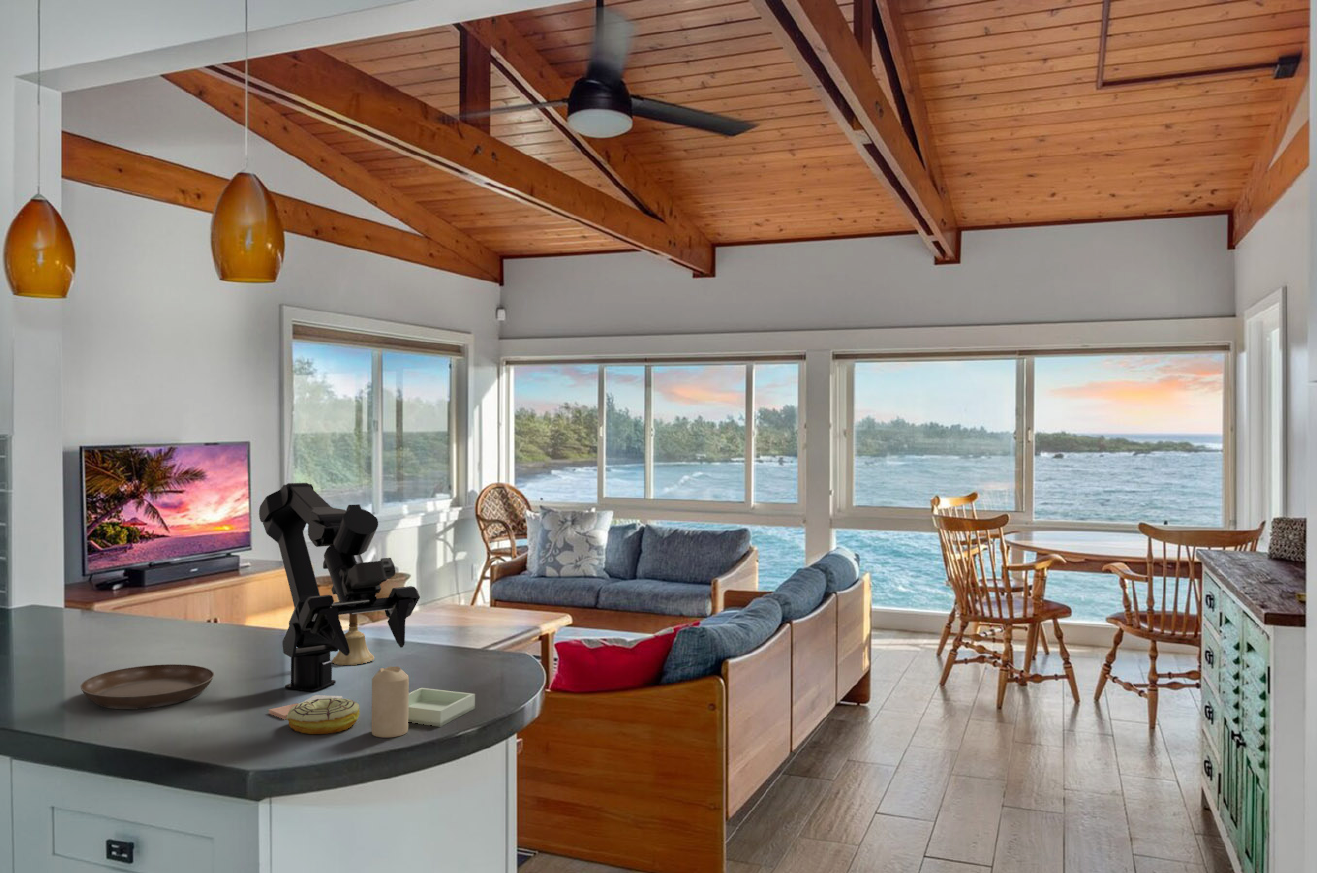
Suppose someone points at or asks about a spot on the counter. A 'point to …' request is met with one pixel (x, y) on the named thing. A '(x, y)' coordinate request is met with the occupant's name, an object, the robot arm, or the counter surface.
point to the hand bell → (354, 646)
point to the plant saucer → (147, 686)
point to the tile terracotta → (281, 711)
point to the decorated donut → (323, 715)
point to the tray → (438, 706)
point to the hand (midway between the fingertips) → (375, 650)
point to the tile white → (321, 697)
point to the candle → (390, 702)
